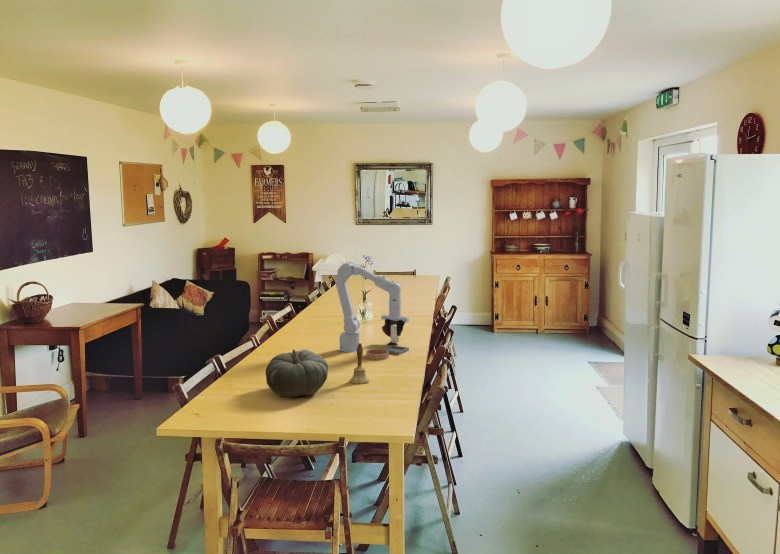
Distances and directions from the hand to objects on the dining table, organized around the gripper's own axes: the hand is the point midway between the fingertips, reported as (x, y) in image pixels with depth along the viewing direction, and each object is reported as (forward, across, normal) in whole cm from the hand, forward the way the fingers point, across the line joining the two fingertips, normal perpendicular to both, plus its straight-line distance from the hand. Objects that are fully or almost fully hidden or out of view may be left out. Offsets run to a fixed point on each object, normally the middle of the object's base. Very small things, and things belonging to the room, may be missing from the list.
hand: (394, 335), depth 299 cm
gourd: (+9, -2, -72) cm, 73 cm away
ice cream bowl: (+9, -9, +13) cm, 18 cm away
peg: (+3, 0, 0) cm, 3 cm away
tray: (+9, 0, 0) cm, 9 cm away
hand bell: (+9, +11, -48) cm, 50 cm away
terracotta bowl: (+9, -2, -13) cm, 16 cm away
